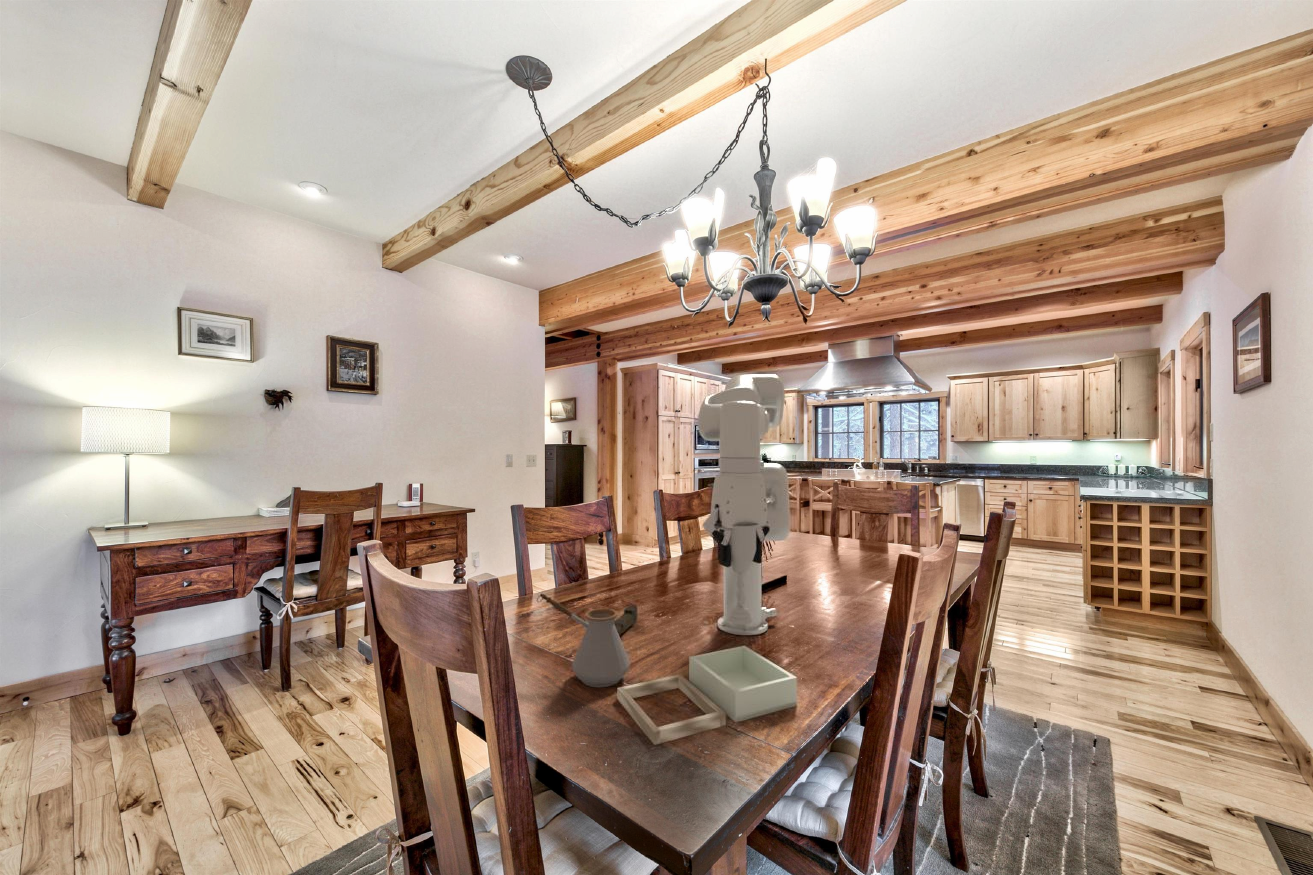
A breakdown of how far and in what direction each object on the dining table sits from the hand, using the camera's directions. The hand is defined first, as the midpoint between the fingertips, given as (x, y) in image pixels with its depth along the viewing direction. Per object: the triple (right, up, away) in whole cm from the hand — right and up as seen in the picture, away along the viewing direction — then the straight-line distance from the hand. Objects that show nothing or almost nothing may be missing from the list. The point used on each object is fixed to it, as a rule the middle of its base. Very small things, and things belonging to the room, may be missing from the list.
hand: (740, 562), depth 96 cm
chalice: (0, -11, 0) cm, 11 cm away
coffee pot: (-31, -25, +8) cm, 41 cm away
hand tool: (-25, -25, +32) cm, 48 cm away
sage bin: (0, -24, 0) cm, 24 cm away
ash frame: (-14, -24, -7) cm, 29 cm away
